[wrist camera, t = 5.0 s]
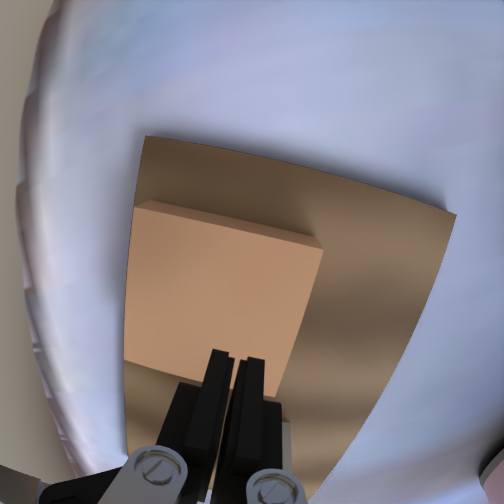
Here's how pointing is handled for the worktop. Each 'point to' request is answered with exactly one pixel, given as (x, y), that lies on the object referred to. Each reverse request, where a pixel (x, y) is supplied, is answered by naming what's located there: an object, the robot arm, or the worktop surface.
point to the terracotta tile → (214, 291)
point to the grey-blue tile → (286, 447)
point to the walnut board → (322, 294)
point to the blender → (494, 479)
